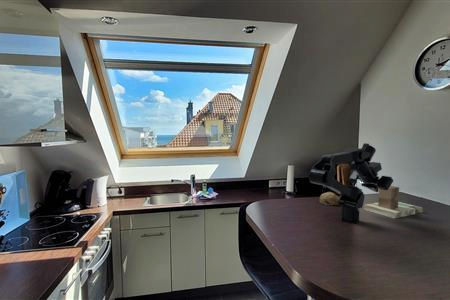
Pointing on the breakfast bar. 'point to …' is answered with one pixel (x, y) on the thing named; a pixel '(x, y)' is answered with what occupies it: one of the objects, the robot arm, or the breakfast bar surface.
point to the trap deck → (394, 210)
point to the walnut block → (389, 198)
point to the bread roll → (329, 198)
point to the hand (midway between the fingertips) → (377, 191)
